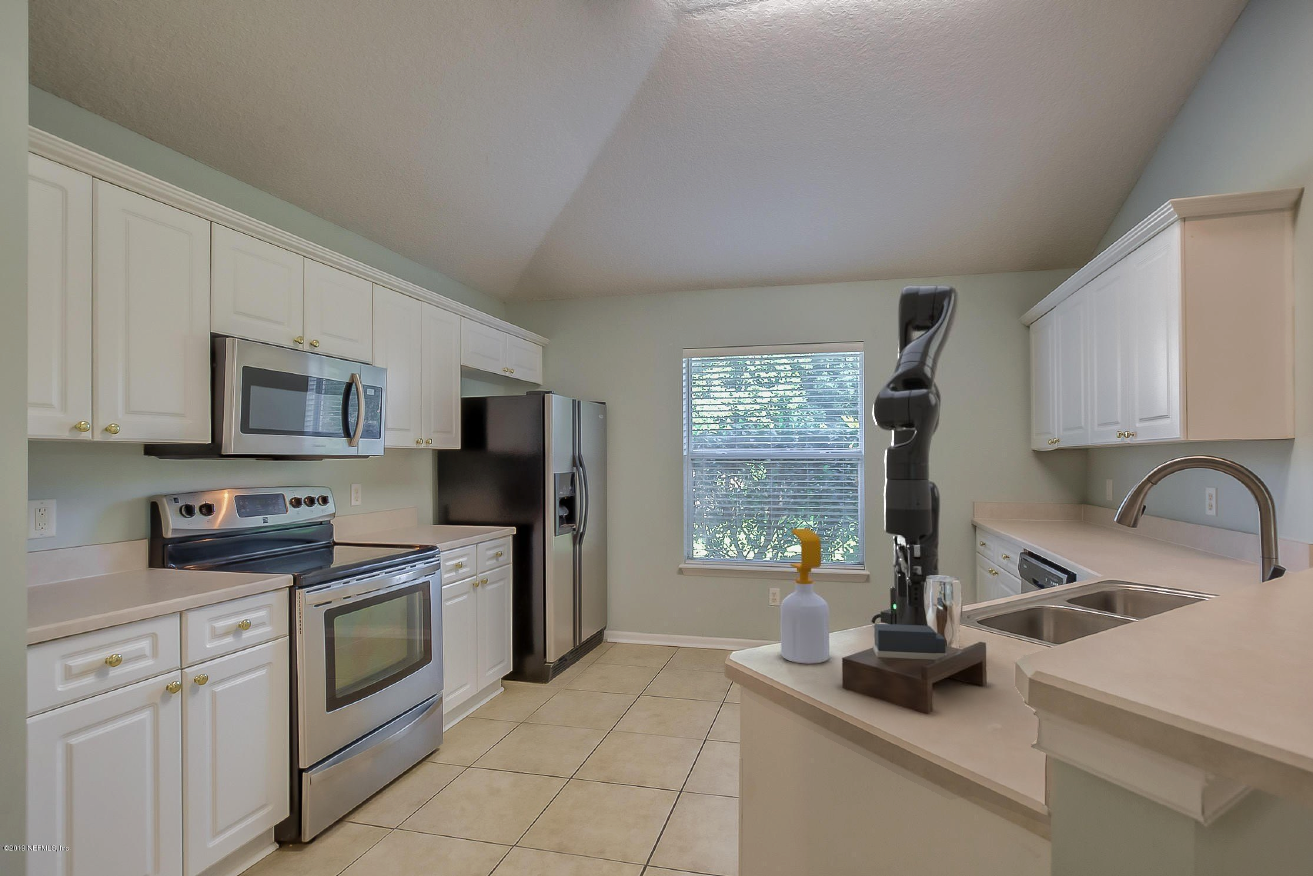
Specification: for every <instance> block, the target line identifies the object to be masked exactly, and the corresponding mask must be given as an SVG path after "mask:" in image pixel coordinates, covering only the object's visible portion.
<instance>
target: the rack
mask: <svg viewBox="0 0 1313 876" xmlns="http://www.w3.org/2000/svg"><path fill="white" fill-rule="evenodd" d="M945 652H946V654H947V655H946V656H944V657H941V658H939V659H936V660H930V659H908V658H886V657H877V655H876V653H875V651H874V649H873V647H870V648H867V649H864V650H860V651H858V652H854V653H852V654H849V655H847V656H843V657H841V670H842V671H841V677H842V678H841V681H842V682H841V683H842V685H841V686H842V688H843V689H845V690H848V691H852V692H855V693H857V694H858V693H859V694H862V695H864V696H869V697H871V698H874V699H878V700H881V701H884V702H888V703H890V704H894V705H897V706H901V707H904V708H907V709H910V710H913V711H916V712H920V713H923V714H926V715H929V714H930V713H932V712H933V711H934V709H933V704H934V703H933V684H934V683H937V682H939V681H941V680H943V679H946V678H950V679H953V680H957V681H961V682H965V683H970V684H973V685H977V686H981V687H984V686H986V685H987V684H988V678H987V677H988V675H987V674H988V673H987V671H988V670H987V667H988V666H987V643H986V642H984V641H978V642H976V643H973V644H971V645H968V646H965V647H963V648H960V649H958V648H954V647H949V646H945Z"/></svg>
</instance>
